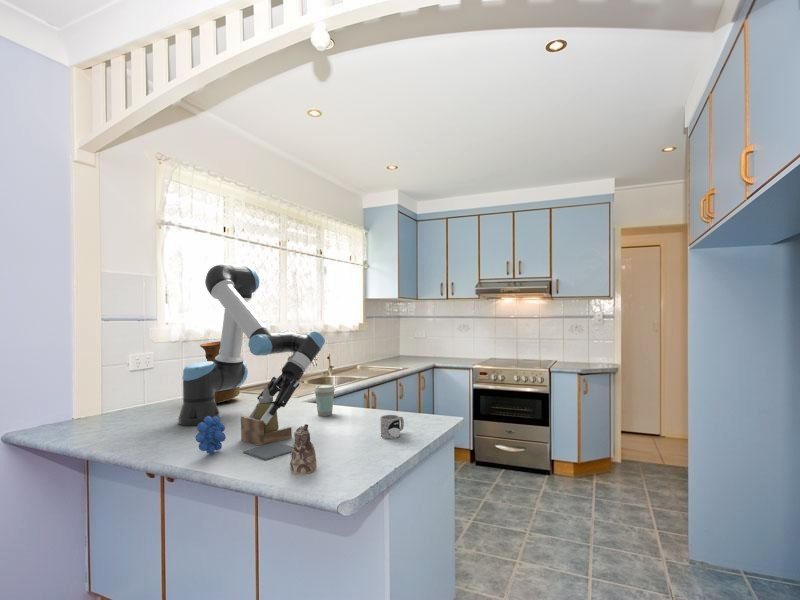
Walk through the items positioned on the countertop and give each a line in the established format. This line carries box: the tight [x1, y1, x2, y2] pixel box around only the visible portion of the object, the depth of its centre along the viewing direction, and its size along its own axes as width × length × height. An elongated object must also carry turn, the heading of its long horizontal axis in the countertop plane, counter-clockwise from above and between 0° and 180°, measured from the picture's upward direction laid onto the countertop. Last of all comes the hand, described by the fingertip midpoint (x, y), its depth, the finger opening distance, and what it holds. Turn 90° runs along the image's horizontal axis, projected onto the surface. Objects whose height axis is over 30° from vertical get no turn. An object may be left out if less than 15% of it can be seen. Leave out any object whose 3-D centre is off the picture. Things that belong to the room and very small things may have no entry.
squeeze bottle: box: [255, 385, 279, 434], centre depth 151 cm, size 8×8×18 cm
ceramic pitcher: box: [199, 340, 241, 404], centre depth 215 cm, size 20×20×30 cm
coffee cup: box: [314, 384, 336, 417], centre depth 184 cm, size 8×8×12 cm
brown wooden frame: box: [240, 415, 293, 447], centre depth 151 cm, size 12×12×8 cm
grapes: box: [194, 416, 227, 455], centre depth 135 cm, size 12×7×12 cm, turn 160°
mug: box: [380, 414, 405, 440], centre depth 152 cm, size 10×7×7 cm, turn 137°
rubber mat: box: [242, 441, 293, 461], centre depth 137 cm, size 12×12×1 cm
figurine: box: [289, 423, 317, 475], centre depth 121 cm, size 7×7×12 cm
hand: (257, 420), depth 148 cm, fingers closed on squeeze bottle, 6 cm apart
